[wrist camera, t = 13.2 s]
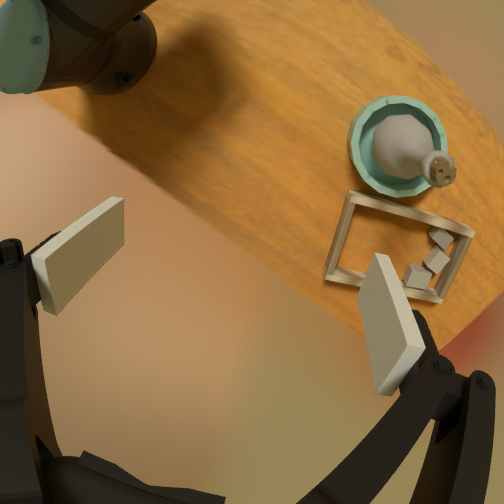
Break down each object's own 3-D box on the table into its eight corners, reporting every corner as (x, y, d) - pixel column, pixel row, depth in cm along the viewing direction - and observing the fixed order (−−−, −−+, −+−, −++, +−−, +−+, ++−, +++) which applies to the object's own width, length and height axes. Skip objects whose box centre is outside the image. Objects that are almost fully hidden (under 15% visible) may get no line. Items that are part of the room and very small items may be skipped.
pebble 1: (426, 231, 46) (431, 237, 44) (436, 220, 45) (441, 226, 43) (439, 243, 47) (444, 250, 45) (448, 233, 46) (454, 238, 44)
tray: (323, 269, 52) (324, 279, 49) (348, 188, 45) (351, 195, 43) (435, 293, 51) (441, 303, 48) (467, 224, 44) (475, 232, 42)
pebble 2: (432, 267, 49) (437, 274, 47) (422, 259, 49) (426, 266, 47) (445, 252, 47) (450, 259, 45) (435, 243, 47) (440, 250, 45)
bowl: (337, 175, 45) (340, 182, 41) (359, 83, 38) (364, 82, 35) (422, 200, 44) (430, 208, 41) (447, 114, 37) (457, 116, 34)
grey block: (402, 277, 51) (405, 285, 49) (408, 262, 49) (412, 270, 47) (421, 281, 51) (425, 289, 48) (427, 266, 49) (432, 274, 47)
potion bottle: (386, 100, 38) (437, 107, 22) (433, 137, 39) (499, 167, 23) (354, 150, 42) (386, 186, 26) (402, 184, 43) (451, 236, 27)
